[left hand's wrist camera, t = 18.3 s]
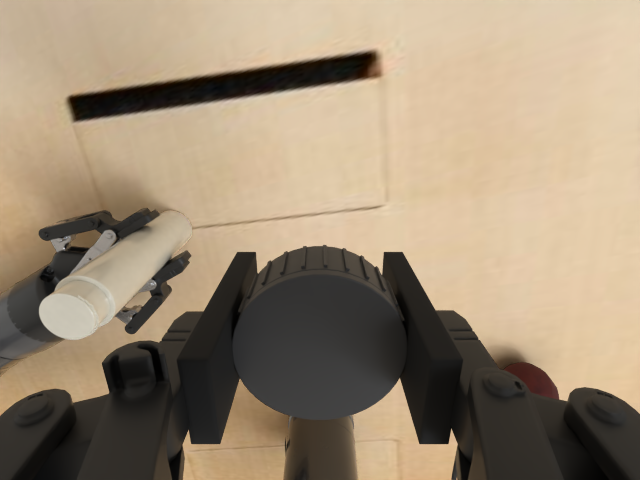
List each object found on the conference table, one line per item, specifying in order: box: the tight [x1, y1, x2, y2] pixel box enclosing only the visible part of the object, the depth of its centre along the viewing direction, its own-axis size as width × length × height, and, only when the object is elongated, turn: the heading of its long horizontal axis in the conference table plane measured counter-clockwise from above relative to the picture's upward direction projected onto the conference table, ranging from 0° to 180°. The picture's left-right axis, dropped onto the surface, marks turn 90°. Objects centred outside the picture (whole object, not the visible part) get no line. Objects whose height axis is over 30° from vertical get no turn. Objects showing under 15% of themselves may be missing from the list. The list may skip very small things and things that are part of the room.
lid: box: [232, 245, 408, 420], centre depth 12 cm, size 5×5×2 cm
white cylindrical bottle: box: [39, 210, 192, 340], centre depth 32 cm, size 4×4×18 cm
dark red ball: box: [504, 362, 559, 400], centre depth 45 cm, size 7×8×7 cm
